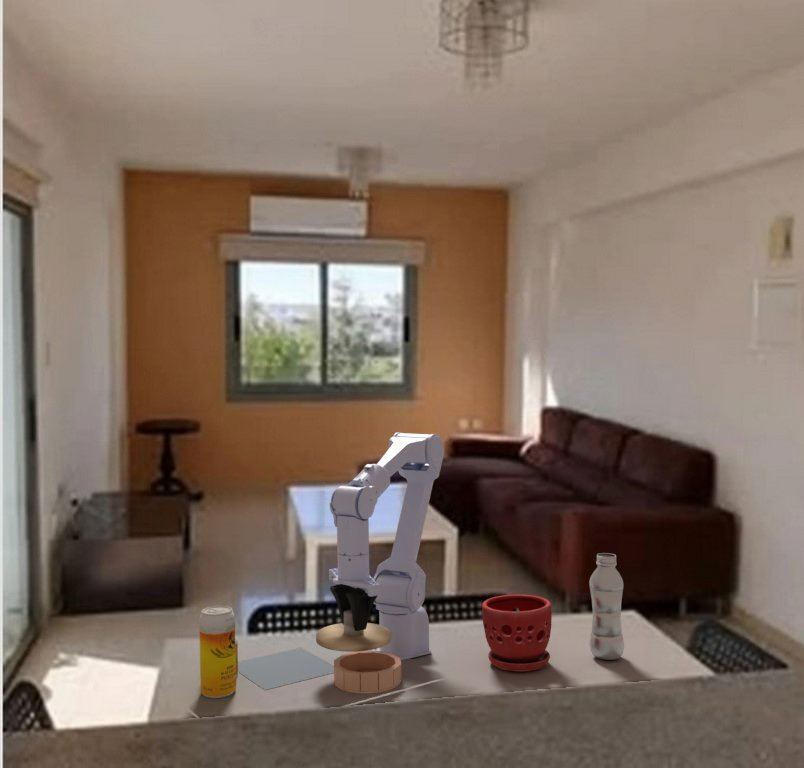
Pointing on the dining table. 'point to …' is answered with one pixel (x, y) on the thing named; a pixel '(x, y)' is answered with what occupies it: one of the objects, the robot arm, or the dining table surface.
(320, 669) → the mat
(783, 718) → the dining table surface
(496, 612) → the plant pot
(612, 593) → the plastic bottle
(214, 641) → the beer can
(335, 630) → the lid
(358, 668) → the bowl
